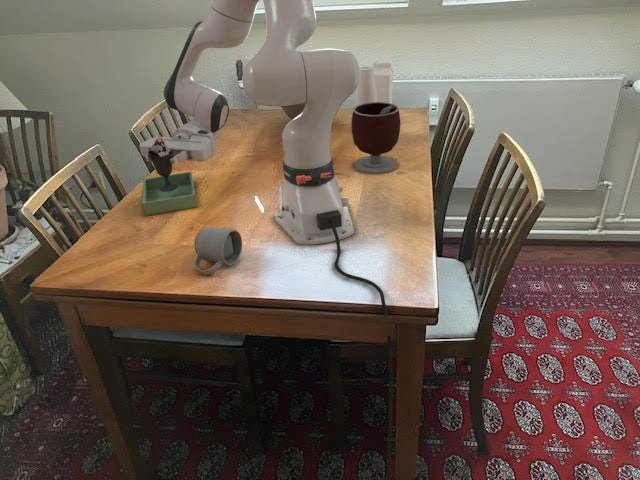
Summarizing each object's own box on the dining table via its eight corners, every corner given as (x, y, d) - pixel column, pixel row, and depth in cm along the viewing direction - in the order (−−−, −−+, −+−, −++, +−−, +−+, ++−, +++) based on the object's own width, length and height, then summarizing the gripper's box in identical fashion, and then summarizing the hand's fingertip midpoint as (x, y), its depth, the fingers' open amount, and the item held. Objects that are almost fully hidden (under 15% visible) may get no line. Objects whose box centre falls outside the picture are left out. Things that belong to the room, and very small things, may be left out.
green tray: (197, 206, 139) (195, 194, 137) (145, 215, 136) (142, 203, 134) (193, 182, 153) (191, 171, 151) (145, 190, 150) (143, 178, 148)
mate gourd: (343, 163, 159) (341, 97, 149) (382, 153, 165) (383, 88, 154) (371, 180, 147) (371, 110, 137) (412, 169, 152) (414, 100, 142)
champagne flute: (380, 143, 172) (381, 68, 160) (362, 147, 170) (361, 71, 158) (371, 137, 177) (371, 64, 165) (353, 141, 175) (351, 67, 163)
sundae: (179, 180, 147) (167, 129, 139) (182, 190, 141) (170, 136, 134) (155, 185, 145) (142, 133, 137) (157, 195, 140) (143, 141, 132)
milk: (375, 124, 189) (375, 61, 178) (392, 125, 187) (392, 61, 176) (371, 130, 184) (371, 65, 173) (389, 130, 182) (389, 65, 171)
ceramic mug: (214, 247, 120) (208, 218, 116) (245, 253, 117) (240, 223, 113) (186, 273, 112) (179, 242, 108) (219, 280, 109) (213, 249, 105)
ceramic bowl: (348, 115, 200) (347, 88, 195) (315, 133, 184) (314, 105, 178) (300, 108, 211) (298, 83, 206) (265, 125, 194) (262, 98, 189)
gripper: (154, 128, 151) (124, 146, 140) (217, 132, 145) (191, 151, 134) (158, 149, 154) (130, 168, 143) (221, 154, 148) (196, 174, 137)
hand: (160, 160), depth 138 cm, fingers closed on sundae, 6 cm apart
